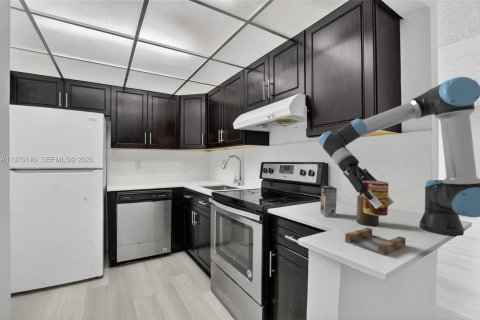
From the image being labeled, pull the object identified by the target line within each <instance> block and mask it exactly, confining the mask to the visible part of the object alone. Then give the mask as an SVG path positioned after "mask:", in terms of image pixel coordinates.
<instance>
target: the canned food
mask: <svg viewBox="0 0 480 320" xmlns="http://www.w3.org/2000/svg"><path fill="white" fill-rule="evenodd" d="M363 182H364V184H365V185H366V187H367V189H368V190H370V191H371V192H372V193H373V194H374V195H375V196H376V197H377V199H378V200H379V201H380V202H381V203H382V204H383V205H381V206H380V207H378V208H377V209H375V207H374V206H373V205H372V204H371V203H370V201H369V200H368V199H367V198H366V197H365V196H364V205H363V212H364V213H366V214H370V215H376V216H379V217H385V216H388V213H389V211H388V207H389V206H388V196H389V182H387V181H381V180H377V181H363ZM368 190H367V191H368Z"/></svg>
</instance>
